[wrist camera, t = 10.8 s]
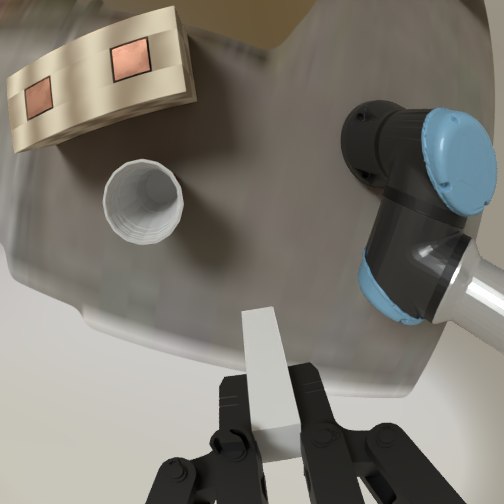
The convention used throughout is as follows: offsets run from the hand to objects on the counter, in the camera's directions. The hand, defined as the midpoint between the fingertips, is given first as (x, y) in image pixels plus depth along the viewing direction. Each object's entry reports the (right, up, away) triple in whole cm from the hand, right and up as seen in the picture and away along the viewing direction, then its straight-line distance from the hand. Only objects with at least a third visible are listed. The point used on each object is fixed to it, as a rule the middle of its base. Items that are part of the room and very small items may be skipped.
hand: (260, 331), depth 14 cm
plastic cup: (-15, +15, +30) cm, 37 cm away
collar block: (-22, +30, +23) cm, 44 cm away
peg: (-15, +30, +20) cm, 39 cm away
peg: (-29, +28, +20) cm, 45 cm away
